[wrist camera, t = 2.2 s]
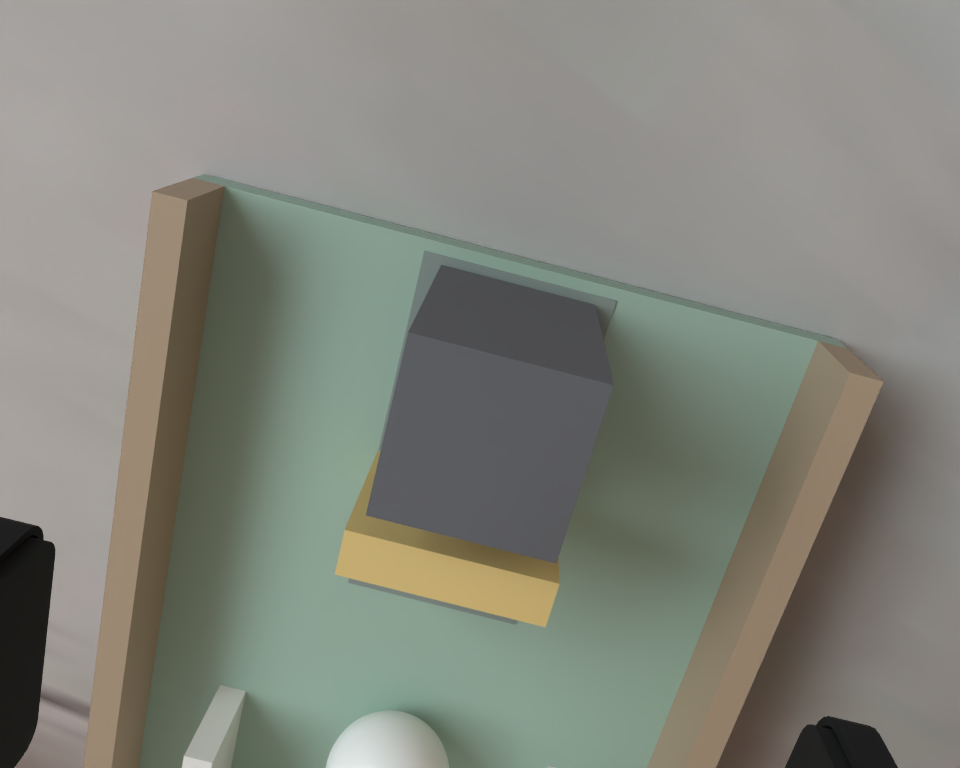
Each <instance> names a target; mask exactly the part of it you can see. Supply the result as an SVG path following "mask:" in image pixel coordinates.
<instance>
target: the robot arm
mask: <svg viewBox="0 0 960 768" xmlns="http://www.w3.org/2000/svg"><path fill="white" fill-rule="evenodd" d="M54 560H55V546H54V544H53V543H52V542H49V541H44V540H43V532H42V529H41V528H40V527H39V526H35V525H31V524H27V523H23V522H19V521H15V520H11V519H6V518H2V517H0V768H14V767H15V766H16V764H17V763H18V762H19V760H20V759H21V758H22V756H23V755H24V753H25V752H26V750H27V748H28V746H29V744H30V742H31V740H32V738H33V735H34V732H35V729H36V726H37V720H38V712H39V703H40V693H41V684H42V674H43V665H44V655H45V646H46V636H47V627H48V617H49V608H50V598H51V589H52V579H53V570H54ZM785 768H898V767H897V765H896V763H895V762H894V760H893V758H892V756H891V754H890V753H889V751H888V749H887V747H886V745H885V743H884V742H883V740H882V738H881V736H880V734H879V733H878V732H877V731H876V729H875V728H873V727H871V726H867V725H863V724H859V723H855V722H851V721H847V720H842V719H838V718H834V717H830V716H827V717H823V718H822V719H821V720H820V721H818V723H817V725H812V724H811V725H807V726H806V727H805V728H804V729H803V730H802V732H801V734H800V736H799V738H798V740H797V742H796V745H795V747H794V749H793V751H792V753H791V756H790V758H789V760H788V762H787V764H786V767H785Z"/></svg>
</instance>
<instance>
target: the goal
mask: <svg viewBox="0 0 960 768" xmlns="http://www.w3.org/2000/svg"><path fill="white" fill-rule="evenodd" d="M245 693H246V691H243V690H239V689H235V688H231V687H227V686H223V685H220V687H219V689H218V691H217V692H216V694H215V696H214V698H213V700H212V702H211V704H210V706H209V708H208V710H207V712H206V714H205V716H204V718H203V720H202V722H201V724H200V726H199V728H198V729H197V731H196V733H195V735H194V737H193V739H192V741H191V743H190V745H189V747H188V749H187V751H186V753H185V755H184V758H183V764H182V768H231V765H232V760H233V755H234V750H235V745H236V739H237V734H238V729H239V724H240V719H241V714H242V708H243V703H244V698H245ZM548 768H555V767H551V766H548Z"/></svg>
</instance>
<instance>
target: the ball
mask: <svg viewBox="0 0 960 768" xmlns="http://www.w3.org/2000/svg"><path fill="white" fill-rule="evenodd" d="M326 768H449V764H448V759H447V755H446V752H445V749H444V747H443V745H442V743H441V740H440V739H439V737H438V736H437V734H436V733H435V732H434V731H433V730H432V728H431V727H430V726H428V725H427V724H426V723H425V722H424V721H422V720H421V719H419V718H418V717H416V716H413V715H411V714H409V713H406V712H402V711H396V710H383V711H377V712H373V713H370V714H368V715H365V716H363V717H361V718H359V719H357V720H356V721H354V722H353V723H352V724H350V725H349V726H348V727H347V728H346V729H345V730H344V731H343V732H342V734H341V735H340V736H339V737H338V739H337V740H336V742H335V743H334V745H333V747H332V749H331V751H330V753H329V757H328V760H327V763H326Z"/></svg>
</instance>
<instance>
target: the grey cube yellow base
mask: <svg viewBox="0 0 960 768" xmlns="http://www.w3.org/2000/svg"><path fill="white" fill-rule="evenodd" d="M613 387H614V383H613V379H612V374H611V370H610V366H609V361H608V357H607V353H606V348H605V344H604V340H603V335H602V331H601V327H600V322H599V318H598V314H597V309H596V305H594V304H590V303H587V302H583V301H579V300H575V299H571V298H567V297H563V296H560V295H556V294H552V293H548V292H544V291H540V290H537V289H533V288H529V287H525V286H521V285H517V284H514V283H510V282H506V281H502V280H498V279H494V278H490V277H487V276H483V275H479V274H475V273H471V272H467V271H464V270H460V269H456V268H452V267H448V266H444V265H441V266H440V268H439V270H438V272H437V274H436V276H435V278H434V280H433V282H432V284H431V286H430V288H429V290H428V293H427V295H426V297H425V299H424V301H423V303H422V305H421V307H420V309H419V311H418V313H417V315H416V317H415V319H414V321H413V323H412V325H411V327H410V329H409V331H408V335H407V339H406V343H405V348H404V352H403V356H402V360H401V365H400V369H399V373H398V378H397V382H396V386H395V391H394V395H393V399H392V404H391V408H390V412H389V417H388V421H387V425H386V430H385V434H384V438H383V443H382V447H381V451H379V450H378V451H377V454H376V456H375V458H374V461H373V463H372V466H371V468H370V470H369V473H368V475H367V478H366V480H365V482H364V485H363V487H362V489H361V492H360V494H359V497H358V499H357V501H356V504H355V506H354V509H353V511H352V513H351V516H350V518H349V520H348V523H347V525H346V528H345V530H344V535H343V539H342V544H341V548H340V553H339V557H338V562H337V566H336V571H335V575H339V576H343V577H347V578H351V579H355V580H359V581H363V582H367V583H371V584H375V585H379V586H383V587H387V588H391V589H395V590H399V591H403V592H406V593H410V594H414V595H418V596H422V597H426V598H430V599H434V600H438V601H442V602H446V603H450V604H454V605H458V606H462V607H466V608H470V609H474V610H478V611H482V612H486V613H490V614H494V615H498V616H502V617H506V618H510V619H514V620H518V621H522V622H526V623H530V624H534V625H538V626H542V627H546V625H547V621H548V618H549V615H550V612H551V609H552V606H553V603H554V600H555V597H556V594H557V591H558V588H559V585H560V577H559V554H560V551H561V548H562V545H563V542H564V539H565V536H566V532H567V529H568V526H569V523H570V520H571V517H572V514H573V511H574V508H575V505H576V501H577V498H578V495H579V492H580V489H581V486H582V483H583V480H584V477H585V474H586V471H587V467H588V464H589V461H590V458H591V455H592V452H593V449H594V446H595V443H596V440H597V436H598V433H599V430H600V427H601V424H602V421H603V418H604V415H605V412H606V409H607V405H608V402H609V399H610V396H611V393H612V390H613Z"/></svg>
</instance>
